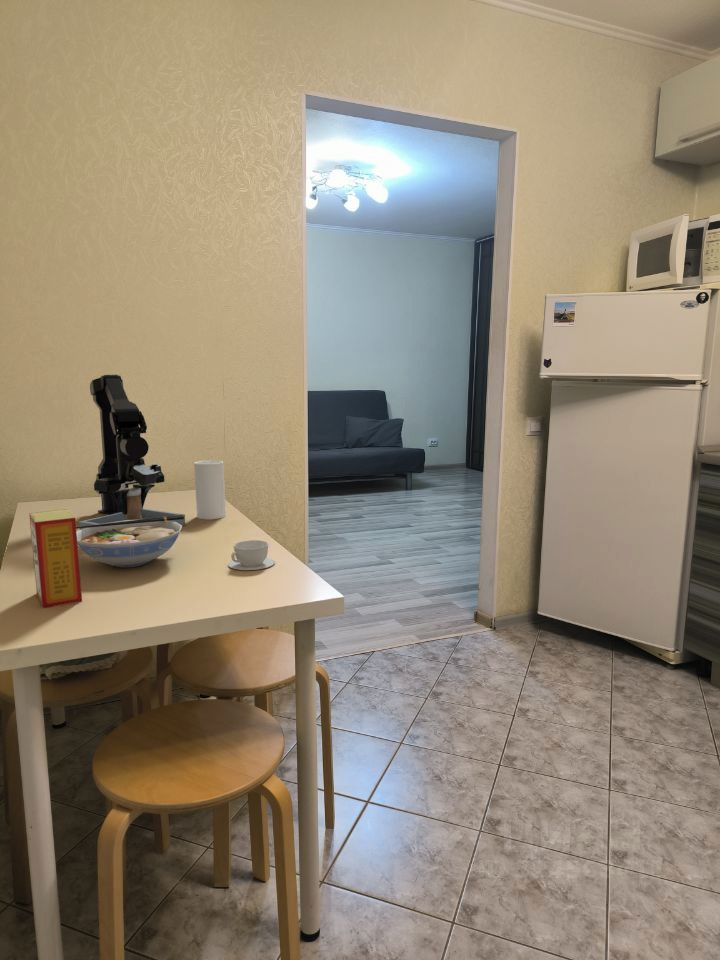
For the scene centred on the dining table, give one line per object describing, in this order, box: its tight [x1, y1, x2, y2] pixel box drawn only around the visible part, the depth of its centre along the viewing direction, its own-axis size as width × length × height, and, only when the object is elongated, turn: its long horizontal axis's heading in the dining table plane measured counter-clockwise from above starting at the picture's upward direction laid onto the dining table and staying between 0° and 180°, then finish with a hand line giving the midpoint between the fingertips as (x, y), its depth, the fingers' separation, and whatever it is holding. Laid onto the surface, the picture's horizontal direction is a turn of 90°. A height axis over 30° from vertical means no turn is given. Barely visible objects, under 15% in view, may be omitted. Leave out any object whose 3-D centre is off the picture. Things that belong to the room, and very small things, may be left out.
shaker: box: [124, 486, 142, 520], centre depth 175 cm, size 5×5×8 cm
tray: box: [78, 508, 186, 530], centre depth 176 cm, size 18×20×3 cm
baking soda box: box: [28, 509, 83, 609], centre depth 121 cm, size 10×6×16 cm
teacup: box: [227, 539, 276, 571], centre depth 142 cm, size 10×10×5 cm
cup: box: [193, 459, 227, 520], centre depth 190 cm, size 8×8×16 cm
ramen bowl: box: [76, 515, 184, 569], centre depth 144 cm, size 25×23×8 cm
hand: (132, 512), depth 176 cm, fingers closed on shaker, 5 cm apart
